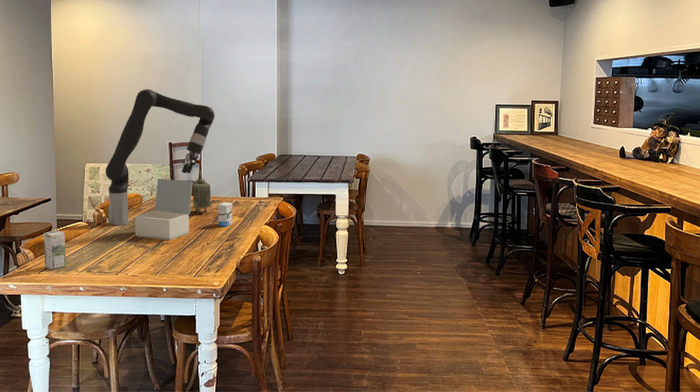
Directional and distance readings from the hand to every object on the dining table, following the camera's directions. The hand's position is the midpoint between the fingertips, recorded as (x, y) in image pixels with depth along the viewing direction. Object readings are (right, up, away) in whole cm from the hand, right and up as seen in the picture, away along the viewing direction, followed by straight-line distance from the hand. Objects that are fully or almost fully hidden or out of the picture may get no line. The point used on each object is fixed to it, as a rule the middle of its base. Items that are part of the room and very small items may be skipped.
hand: (185, 172), depth 316 cm
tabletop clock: (-3, -22, +47) cm, 52 cm away
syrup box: (-35, -41, -67) cm, 86 cm away
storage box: (-9, -32, -9) cm, 34 cm away
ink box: (+17, -28, +16) cm, 37 cm away
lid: (-5, -12, -4) cm, 14 cm away
